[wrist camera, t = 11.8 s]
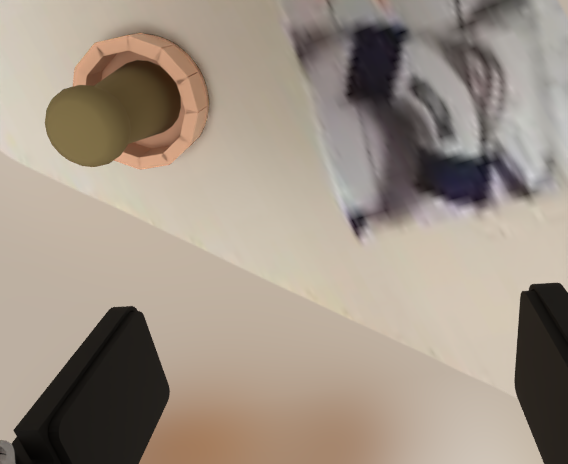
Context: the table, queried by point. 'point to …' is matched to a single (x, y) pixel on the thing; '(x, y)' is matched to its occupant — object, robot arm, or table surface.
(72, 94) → the cork
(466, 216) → the table surface
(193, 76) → the copper faceted bowl
